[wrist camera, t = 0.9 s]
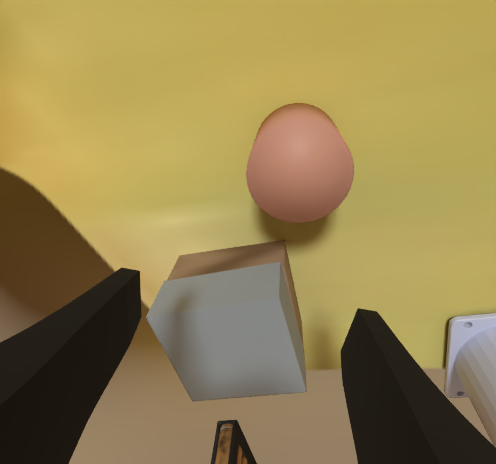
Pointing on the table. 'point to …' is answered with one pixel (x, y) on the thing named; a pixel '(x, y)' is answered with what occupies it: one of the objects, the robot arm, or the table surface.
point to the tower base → (239, 265)
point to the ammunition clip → (231, 445)
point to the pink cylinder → (299, 164)
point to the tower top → (231, 333)
